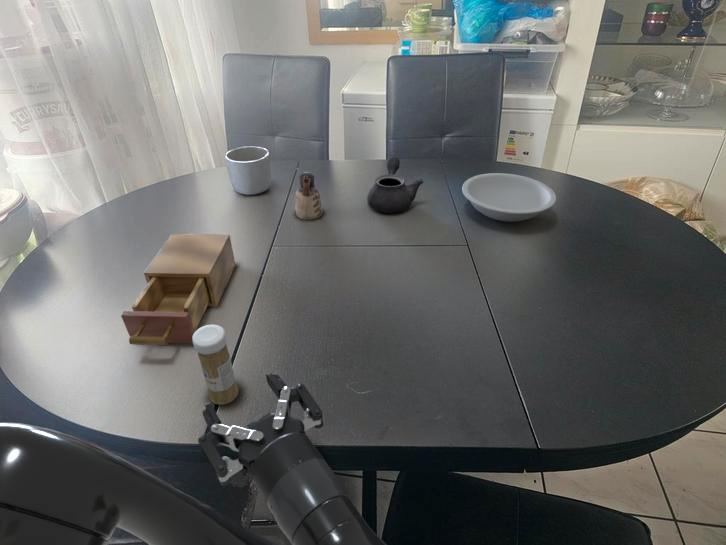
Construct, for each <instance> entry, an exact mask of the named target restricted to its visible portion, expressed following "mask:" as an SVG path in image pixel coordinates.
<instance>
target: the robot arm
mask: <svg viewBox="0 0 726 545" xmlns="http://www.w3.org/2000/svg"><path fill="white" fill-rule="evenodd" d="M265 378H266V383H267V385H268V387H269V388H270V390H271V391H272V392H273V394H274V395H275V396H276V398H277V399H278V400H277V404H276V410H275V413H274V412H273V413H271V412H268V413H266V414H264V415H263V416H262V417H261V418H260V419H257V420H254V421H252V422H250V423H248V424H246V428H244V427H240V426H237V425H231V426H228V425H225V424H222V421H221V419H220V417H219V414H217V411H216V410H215V408H214V406H213V403H211V402H208V403H206V404H204V407H205V408H204V409H203V410H202V417H203V419H204V422H205V424H206V425H207V427H208V429H209V430H208V433H206V434H202V435H201V436H199V437H198V439H197V442H198V444H199V447H200V449H201V453H202V455H203V457H204V458H205V460H206V462H207V464H208V465H209V467H210V469H211V470H212V472H213V473H214V475H215V477H216V479H217V480H218V482H219V484H220V485H221V486H227V485H229V483H231V480H232V478H231V477H232V476H234V475H235V474H237V473H238V472H240V471H242V470H244V471H246V472H247V473H248V474H249V475H250V477H251V478H252V480H253V482H254V484H255V485H256V487H257V489H258V491H259V493H260V495H261V496H262V498H263V500H264V502H265V503H266V505H267V507H268V509H269V511H270V516H271V517H272V518H273V519H274V521H275V522H276V523H277V525H278V527H279V528H280V530H281V531H282V532H283V534H284V535H285V536H286V538H287V539H288V541H289V542H290V543H291V545H388V544H387V542H385V541H384V540H383V539H382V538H381V537H380V536H379V535H378V534H377V533H376V532H375V531H374V530H373V529H372V528H371V527H370V525H369V524H368V523H367V521H366V520H365V518H364V517H363V516H362V515H361V513H360V511H359V510H358V509H357V507H356V506H355V505H354V503H353V501H352V500H351V499H350V498H349V495H348V494H347V493H346V491H345V489H344V486H343V485H342V483H341V481H340V480H339V478H338V477H337V474H336V473H335V472H334V471H333V470H332V468H331V467H330V465H329V464H328V463H327V461H326V460H325V458H324V457H323V455H322V454H321V453H320V451H319V450H318V448H317V447H316V446H315V444H314V442H312V440H311V438H309V436H308V435H307V434H306V432H307V431H308V430H310V429H312V428H315V429H321V428H323V427H324V419H323V417H324V416H323V410H322V408H321V407H320V406H319V404H318V403H317V401H316V400H315V398H314V397H313V396H312V394H311V393H310V391H309V390H308V388H307V386H305V384H304V383H298V384H296V386H295V387H289V386H287V385H286V383H285V382H284V381H283V379H282V378H281V376H280V375H279V374H276V373H274V374H273V373H272V372H268V373H266V374H265ZM295 402H296V403H297V402H298V404H299V405H300V407H301V408H302V410H303V411H304V412H303V420H301V419H298V418H294V417H291V411H292V406H293V403H295ZM218 445H220V446H223V447H226V448H229V449H230V450H231V451H232V452H233V451H234V452H236V453H237V458H236V459H231V458H230V457H229V456H225V455H224V456H221V454H220V453H219V451H218V450H217V448H216V446H218ZM116 528H119V529H121V530H124V531H125V532H127V533H130V534H132V535H133V536H135V537H137V538H138V539H140V540H142V541H143V542H145V543H146V544H148V545H279V544H278V543H277V542H274V541H271V540H270V539H268V538H266V537H264V536H262V535H260V534H258V533H256V532H254V531H252V530H250V529H248V528H247V527H246V526H243V525H242V524H240V523H239V522H237V521H235V520H234V519H232V518H230V517H229V516H227V515H225V514H224V513H221V512H220V511H218V510H216V509H215V508H213V507H211V506H209V505H208V504H206V503H205V502H203V501H201V500H199V499H197V498H195V497H194V496H192V495H190V494H188V493H186V492H185V491H183V490H181V489H179V488H178V487H175V486H174V485H172V484H170V483H168V482H166V481H164V480H163V479H161V478H159V477H157V476H155V475H154V474H152V473H150V472H148V471H147V470H145V469H143V468H141V467H139V466H137V465H136V464H133V463H132V462H130V461H128V460H126V459H124V458H122V457H120V456H118V455H117V454H115V453H112V452H110V451H108V450H106V449H104V448H102V447H99V446H97V445H95V444H93V443H90V442H88V441H85V440H84V439H80V438H78V437H76V436H74V435H70V434H67V433H64V432H62V431H58V430H55V429H53V428H52V429H51V428H47V427H42V426H37V425H33V424H28V423H23V422H11V421H10V422H9V421H6V422H5V421H0V545H108V544H109V541H108V540H110V539H111V538H112V536H113V533H114V532H115V530H116Z"/></svg>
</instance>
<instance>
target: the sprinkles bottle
mask: <svg viewBox="0 0 726 545" xmlns="http://www.w3.org/2000/svg"><path fill="white" fill-rule="evenodd" d="M192 341H193V343H192V344H193V348H194V350H195V351H196V352H197V356H198V359H199V363H200V367H201V370H202V375H203V378H204V382H205V385H206V388H207V390H208V394H209V395H208V396H209V399H210V402H212V404H215V405H218V406H224V405H228V404H230V403H232V402H233V401H234V400H235V399H236V398H237V397H238V395H239V387H238V385H237V382H236V377H235V376H236V375H235V372H234V367H233V363H232V359H231V356H230V352H229V349H228V344H227V336H226V332H225V329H224V328H223V327H222V326H220V325H218V324H206V325H203V326H200V327H199V328H197V329H196V330H195V333H194V334H193V337H192Z"/></svg>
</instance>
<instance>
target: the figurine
mask: <svg viewBox="0 0 726 545" xmlns="http://www.w3.org/2000/svg"><path fill="white" fill-rule="evenodd" d="M298 180H299V188H298V189H297V190H296V192H295V201H294V202H295V205H294V206H295V214H296V217H298V218H299V219H301V220H305V221H311V220H313V221H314V220H316V219H319V218H320V217H322V215H323V206H322V200H321V194H320V191H319V190H318V189H317V188H316V184H315V175H314V174H312V172H309V171H304V172H302V173H301V174H299V176H298Z"/></svg>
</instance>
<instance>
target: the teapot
mask: <svg viewBox="0 0 726 545" xmlns="http://www.w3.org/2000/svg"><path fill="white" fill-rule="evenodd" d="M400 164H401V162H400V158H399V157H397V156H390V157H389V158H387V160H386V169H387V173H388V174H382V175H379V176H377V177H376V178H374V183H373V184H372V186H371V188H370V189H369V190H368V193H367V195H366V203H367V205H368V206H369V207H370V208H371V209H372V210H375V211H378V212H381V213H399V212H403V211H406V210H407V209H409V207H410V206H411V204H412V202H414V200H415V199H416V196H417V194H418V190H419V188H420V187H421V185H423V183H424V180H423V179H422V178H418V179H417V180H415V181H413V182H412V183H411V184H408V185H407V184H406V179H405V178H404V177H402V176H400V175H397V174H396V173H397V171H398V170H399V169H400Z"/></svg>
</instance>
